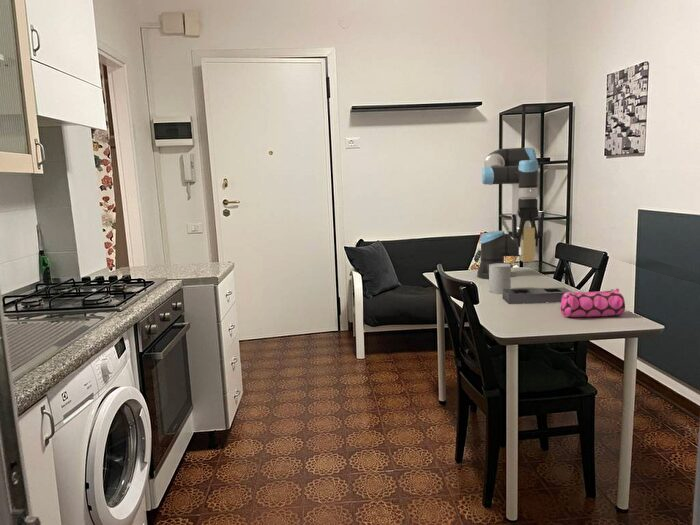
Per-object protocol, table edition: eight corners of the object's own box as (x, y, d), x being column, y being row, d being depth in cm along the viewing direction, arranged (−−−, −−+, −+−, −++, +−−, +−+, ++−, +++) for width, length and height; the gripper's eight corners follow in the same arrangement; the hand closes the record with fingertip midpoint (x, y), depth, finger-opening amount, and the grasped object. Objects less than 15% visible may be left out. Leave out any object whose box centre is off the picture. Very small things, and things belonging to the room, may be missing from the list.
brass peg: (519, 260, 225) (520, 227, 223) (530, 259, 225) (531, 226, 223) (523, 261, 221) (523, 228, 219) (534, 261, 221) (534, 227, 219)
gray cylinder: (488, 294, 238) (489, 266, 236) (488, 289, 247) (488, 263, 245) (511, 294, 236) (511, 266, 234) (510, 289, 245) (510, 263, 243)
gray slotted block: (502, 298, 229) (502, 289, 228) (563, 296, 228) (564, 287, 227) (508, 304, 219) (508, 294, 218) (572, 302, 218) (573, 292, 218)
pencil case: (611, 311, 203) (612, 285, 201) (626, 317, 194) (627, 290, 192) (557, 314, 202) (557, 288, 200) (569, 321, 192) (569, 293, 191)
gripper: (508, 199, 216) (508, 256, 219) (552, 197, 215) (551, 255, 219) (503, 198, 223) (503, 254, 226) (546, 197, 223) (545, 252, 226)
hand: (527, 254), depth 223 cm, fingers closed on brass peg, 4 cm apart
